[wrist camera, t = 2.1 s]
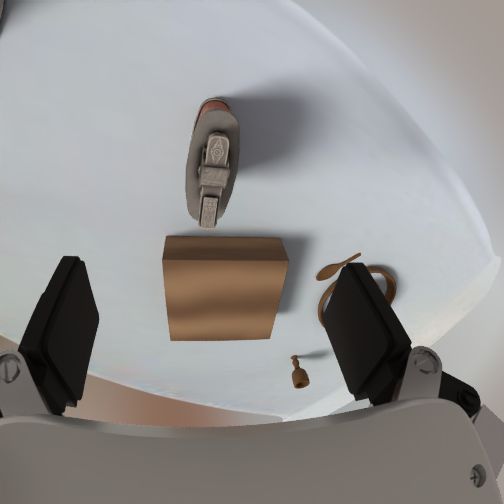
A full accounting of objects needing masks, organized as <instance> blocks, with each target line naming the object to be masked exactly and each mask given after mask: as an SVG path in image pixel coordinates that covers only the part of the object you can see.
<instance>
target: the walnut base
mask: <svg viewBox="0 0 504 504" xmlns="http://www.w3.org/2000/svg"><path fill="white" fill-rule="evenodd" d="M162 263H163V276H164V287H165V297H166V307H167V315H168V324H169V332H170V340H171V341H227V340H257V339H270V336H271V332H272V329H273V325H274V321H275V317H276V313H277V309H278V305H279V301H280V297H281V293H282V289H283V285H284V280H285V276H286V272H287V268H288V264H289V259H288V257H287V254H286V252H285V249H284V247H283V244H282V242H281V239H280V238H246V237H187V236H166V240H165V246H164V252H163V258H162Z"/></svg>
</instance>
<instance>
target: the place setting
mask: <svg viewBox="0 0 504 504" xmlns="http://www.w3.org/2000/svg"><path fill="white" fill-rule="evenodd" d="M359 256H361V253H358V254H356V255H354V256H352V257H351V258H349V259H348V260H346V261H344V262H342V263H340V264H332V265H329V266H327V267H325V268H324V269H322V270H321V271H320V272H319V273H318V275H317V276H316V279H317V280H318V281H321V280H326V279H328V278H330V277H332V276H333V275H334V274H335V273H336V272H337V271H338V270H339V269H340V268H341V267H342V266H344V265H345V264H347V263H349V262H350V261H352V260H354V259H356V258H357V257H359ZM366 268H367V269H368V271H369V273H381V274H382V275H383V276H384V277H385V278H386V281H387V292H386V294H385V298H386V299H387V301H388V303H389V304H390V305H391V303H392V301H393V300H394V297H395V294H396V283H395V281H394V279H393V277H392V276H391V275H390V274H389V273H388V272H386V271H385V270H382V269H380V268H374V267H366ZM337 280H338V279H337ZM337 280H336V281H335V282H334V283H332V284H331V285H330V286H329V288H328V289H327V290H326V291H325V293H324V294H323V296H322V298H321V300H320V302H319V306H318V317H319V320H320V323H321V324H322V326H323V327H324V324H323V315H324V314H323V310H322V307H323V305H324V303H325V301H326V300H327V298H328V297H329V295H330V294H331V293H332V292H333V290H334V288H335V285H336V283H337ZM324 328H325V327H324ZM297 357H298V356H297V355H294V356H292V357H291V359H293V362H292V363H293V365H294V366H295V370H294V371H293V373H292V380H293V384H294V387H295V388H304V387H306V386H308V385H309V383H310V382H309V378H308V375H307V373H306V371H305V370H304V369H302V368H300V367H299V361H298V360H297Z"/></svg>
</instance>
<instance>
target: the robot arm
mask: <svg viewBox="0 0 504 504" xmlns="http://www.w3.org/2000/svg"><path fill="white" fill-rule="evenodd" d="M3 3H4V0H0V19H1V14H2V10H3ZM98 324H99V314H98V310H97V307H96V304H95V300H94V297H93V293H92V290H91V286H90V282H89V278H88V274H87V270H86V266H85V263H84V261H81V260H80V258H79V257H78V256H63V257H62V259H61V261H60V263H59V264H58V266H57V268H56V270H55V272H54V274H53V276H52V278H51V280H50V282H49V284H48V286H47V288H46V290H45V292H44V293H43V294H42V295H41V297H40V299H39V301H38V303H37V305H36V308H35V310H34V312H33V314H32V316H31V319H30V321H29V323H28V326H27V328H26V330H25V333H24V335H23V338H22V340H21V343H20V345H19V348H18V351H15V350H6V351H2V352H1V353H0V504H503V502H502V498H501V494H500V491H499V488H498V485H497V481H496V478H497V476H498V474H499V472H500V470H501V468H502V465H503V463H504V423H503V422H502V421H501V420H500V419H499V418H498V417H497V416H496V415H495V414H494V413H493V412H492V411H490V410H489V409H488V408H487V407H486V406H485V405H484V404H483V405H482V406H480V403H481V402H480V397H479V395H478V393H477V391H476V390H475V389H474V388H473V387H471V386H470V385H468V384H466V383H464V382H462V381H461V380H458V379H457V378H455V377H453V376H451V375H449V374H447V373H445V372H443V371H442V363H441V360H440V358H439V356H438V355H437V354H436V353H435V352H434V351H433V350H431V349H430V348H427V347H424V346H417V347H414V348H413V349H412V348H411V346H410V345H411V343H412V342H411V340H410V338H409V337H408V335H407V333H406V331H405V330H404V328H403V326H402V324H401V323H400V321H399V319H398V318H397V316H396V314H395V313H394V311H393V309H392V308H391V306H390V304H389V303H388V301H387V299H386V298H385V296H384V295H383V293H382V291H381V290H380V288H379V287H378V285H377V283H376V282H375V280H374V279H373V277H372V276H371V274H370V273H369V271H368V269H367V268H366V266H365V265H364V264H363V263H347V264H346V266H344V267H343V268H342V269H341V272H340V275H339V277H338V280H337V283H336V285H335V288H334V290H333V293H332V295H331V298H330V301H329V303H328V305H327V308H326V310H325V313H324V315H323V324H324V327H325V329H326V332H327V334H328V337H329V340H330V342H331V345H332V347H333V350H334V353H335V355H336V358H337V360H338V363H339V366H340V368H341V371H342V374H343V376H344V379H345V382H346V384H347V387H348V390H349V392H350V393H351V394H354V397H355V400H356V401H358V400H363V399H367V398H369V401H370V405H369V407H368V408H364V409H359V410H354V411H349V412H345V413H340V414H334V415H328V416H323V417H316V418H310V419H303V420H296V421H288V422H280V423H270V424H260V425H246V426H228V427H160V426H143V425H130V424H119V423H110V422H101V421H93V420H85V419H79V418H72V417H66V416H65V415H64V412H65V407H66V406H70V407H76V406H77V400H81V399H82V395H83V390H84V384H85V380H86V375H87V370H88V365H89V361H90V356H91V352H92V348H93V344H94V340H95V336H96V332H97V328H98Z"/></svg>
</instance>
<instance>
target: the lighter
mask: <svg viewBox="0 0 504 504" xmlns="http://www.w3.org/2000/svg"><path fill="white" fill-rule="evenodd" d="M238 159H239V125H238V121H237V119H236V118H235V116H234V115H233V114H232V113H231V110H230V106H229V105H228V104H227V102H226V101H224V100H222V99H219V98H210V99H207V100H205V101H204V102H203V103H202V104H201V106H200V108H199V111H198V114H197V117H196V120H195V122H194V127H193V132H192V137H191V142H190V148H189V154H188V159H187V165H186V188H185V190H186V199H187V207H188V212H189V214H190V215H191V216H192V217H193V218H194V219H196V220H197V221H198V225H199V227H200V228H202V229H208V230H209V229H214V228H215V227H216V224H217V220H218V219H219V218H221V217H222V215H223V214H224V212H225V209H226V207H227V204H228V202H229V199H230V197H231V194H232V190H233V186H234V182H235V178H236V174H237V168H238Z"/></svg>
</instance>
